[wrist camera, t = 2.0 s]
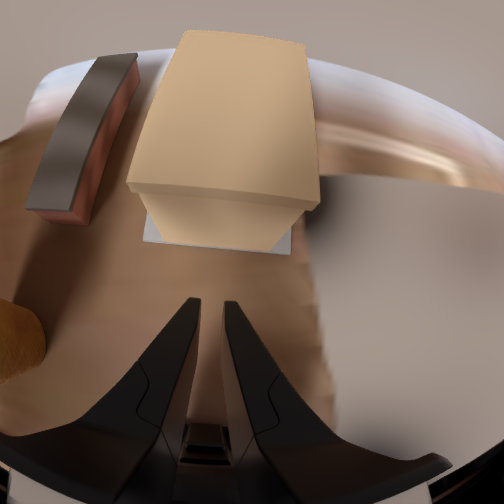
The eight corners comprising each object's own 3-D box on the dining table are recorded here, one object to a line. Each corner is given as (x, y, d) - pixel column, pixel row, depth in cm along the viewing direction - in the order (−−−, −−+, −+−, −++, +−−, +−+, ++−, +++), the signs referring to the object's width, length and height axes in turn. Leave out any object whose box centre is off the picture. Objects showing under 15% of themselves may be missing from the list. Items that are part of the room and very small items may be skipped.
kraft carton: (270, 254, 24) (320, 201, 13) (161, 243, 22) (126, 182, 12) (274, 124, 27) (304, 44, 16) (188, 115, 26) (186, 30, 15)
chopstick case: (89, 227, 22) (68, 209, 18) (47, 224, 21) (24, 207, 17) (142, 79, 27) (137, 52, 23) (105, 81, 26) (98, 57, 22)
